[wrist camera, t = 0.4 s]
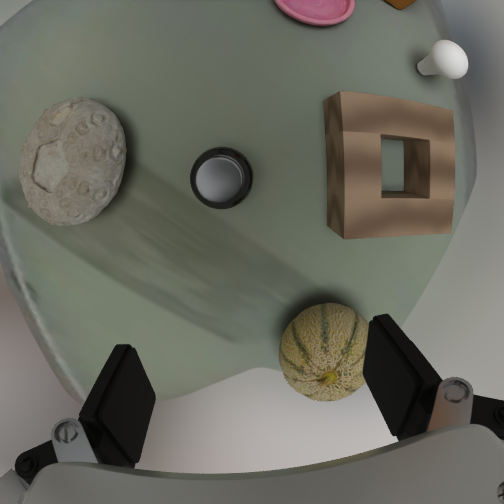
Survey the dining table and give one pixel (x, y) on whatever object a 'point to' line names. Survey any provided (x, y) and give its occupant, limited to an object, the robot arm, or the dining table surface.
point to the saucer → (317, 10)
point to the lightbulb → (444, 60)
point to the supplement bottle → (221, 178)
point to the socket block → (369, 166)
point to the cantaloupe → (325, 352)
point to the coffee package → (401, 3)
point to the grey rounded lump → (73, 161)
